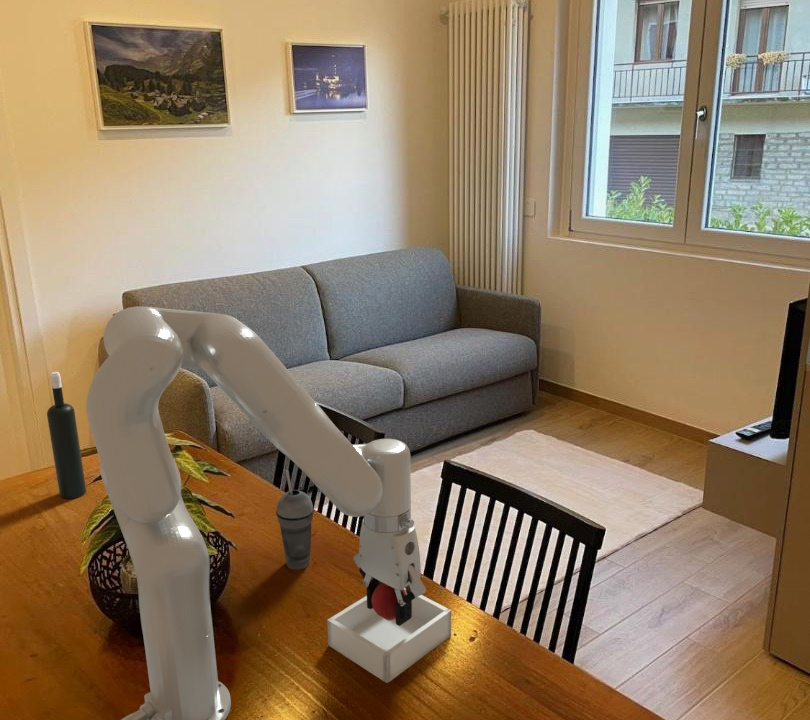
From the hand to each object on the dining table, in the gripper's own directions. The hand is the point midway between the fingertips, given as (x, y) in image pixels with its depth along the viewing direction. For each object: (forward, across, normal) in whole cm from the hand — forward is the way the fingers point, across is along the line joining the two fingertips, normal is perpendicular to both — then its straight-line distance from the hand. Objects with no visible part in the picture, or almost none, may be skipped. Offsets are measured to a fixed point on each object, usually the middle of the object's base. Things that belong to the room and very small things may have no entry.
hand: (389, 612), depth 129 cm
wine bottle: (+6, +93, +11) cm, 94 cm away
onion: (+2, 0, 0) cm, 2 cm away
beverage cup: (+6, +30, -5) cm, 31 cm away
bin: (+6, 0, 0) cm, 6 cm away
